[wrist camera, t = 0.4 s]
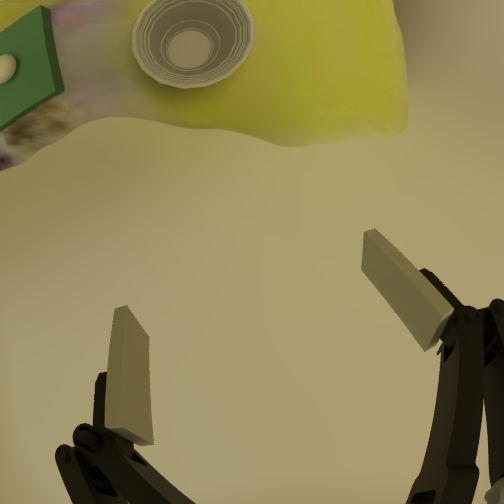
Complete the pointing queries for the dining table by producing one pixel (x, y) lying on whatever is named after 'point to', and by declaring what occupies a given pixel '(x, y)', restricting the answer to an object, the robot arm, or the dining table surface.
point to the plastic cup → (192, 40)
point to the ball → (7, 67)
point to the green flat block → (29, 65)
